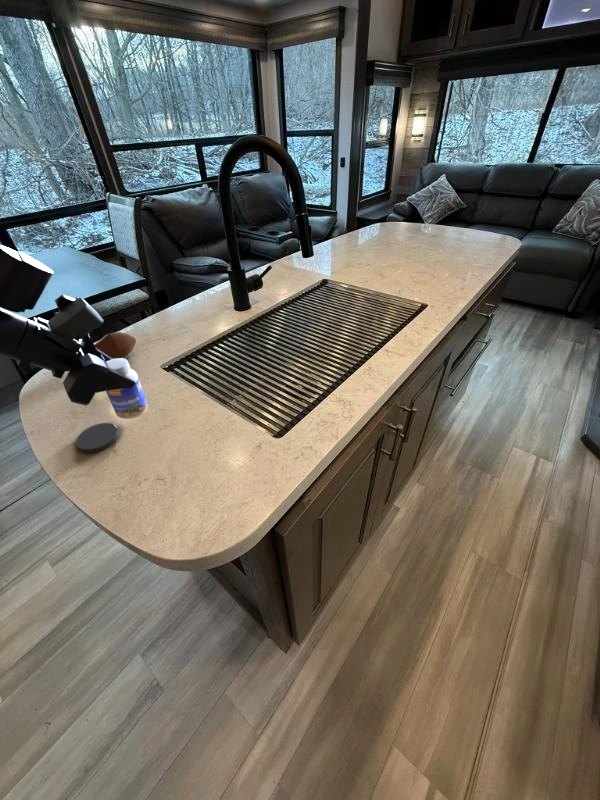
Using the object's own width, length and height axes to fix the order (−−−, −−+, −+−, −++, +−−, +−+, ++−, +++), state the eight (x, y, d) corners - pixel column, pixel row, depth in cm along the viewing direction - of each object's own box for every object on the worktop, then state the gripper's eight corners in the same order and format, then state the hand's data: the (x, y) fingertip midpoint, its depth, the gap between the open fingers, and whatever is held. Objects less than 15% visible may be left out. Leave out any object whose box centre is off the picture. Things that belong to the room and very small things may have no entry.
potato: (89, 362, 84) (78, 339, 80) (131, 344, 91) (123, 323, 87) (100, 370, 81) (90, 347, 77) (143, 351, 88) (135, 329, 84)
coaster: (98, 456, 59) (97, 453, 58) (69, 446, 61) (67, 443, 60) (127, 430, 64) (125, 427, 64) (98, 422, 66) (97, 419, 65)
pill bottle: (116, 423, 57) (94, 376, 51) (117, 405, 61) (96, 359, 55) (149, 415, 59) (131, 369, 53) (148, 398, 63) (131, 353, 57)
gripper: (58, 307, 38) (174, 359, 50) (36, 269, 49) (135, 319, 62) (12, 388, 39) (137, 420, 51) (1, 332, 50) (105, 369, 63)
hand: (129, 377), depth 56 cm, fingers closed on pill bottle, 5 cm apart
